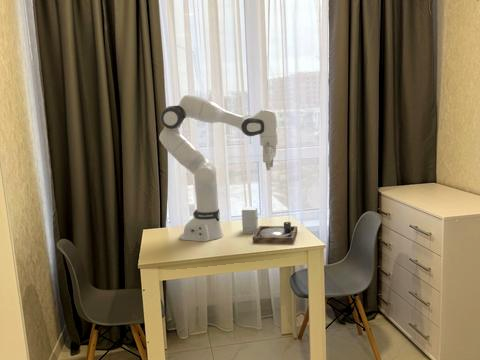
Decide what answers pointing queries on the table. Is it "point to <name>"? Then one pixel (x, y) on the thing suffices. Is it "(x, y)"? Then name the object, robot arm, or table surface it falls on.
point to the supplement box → (249, 219)
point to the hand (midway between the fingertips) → (269, 168)
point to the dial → (277, 231)
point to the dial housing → (275, 239)
